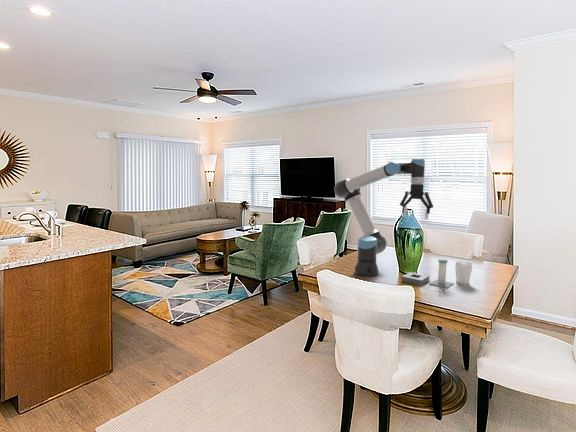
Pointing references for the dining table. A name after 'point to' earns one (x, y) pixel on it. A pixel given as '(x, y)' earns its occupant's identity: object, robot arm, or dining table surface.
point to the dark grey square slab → (415, 278)
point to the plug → (442, 271)
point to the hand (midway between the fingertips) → (415, 218)
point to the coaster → (446, 285)
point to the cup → (463, 272)
